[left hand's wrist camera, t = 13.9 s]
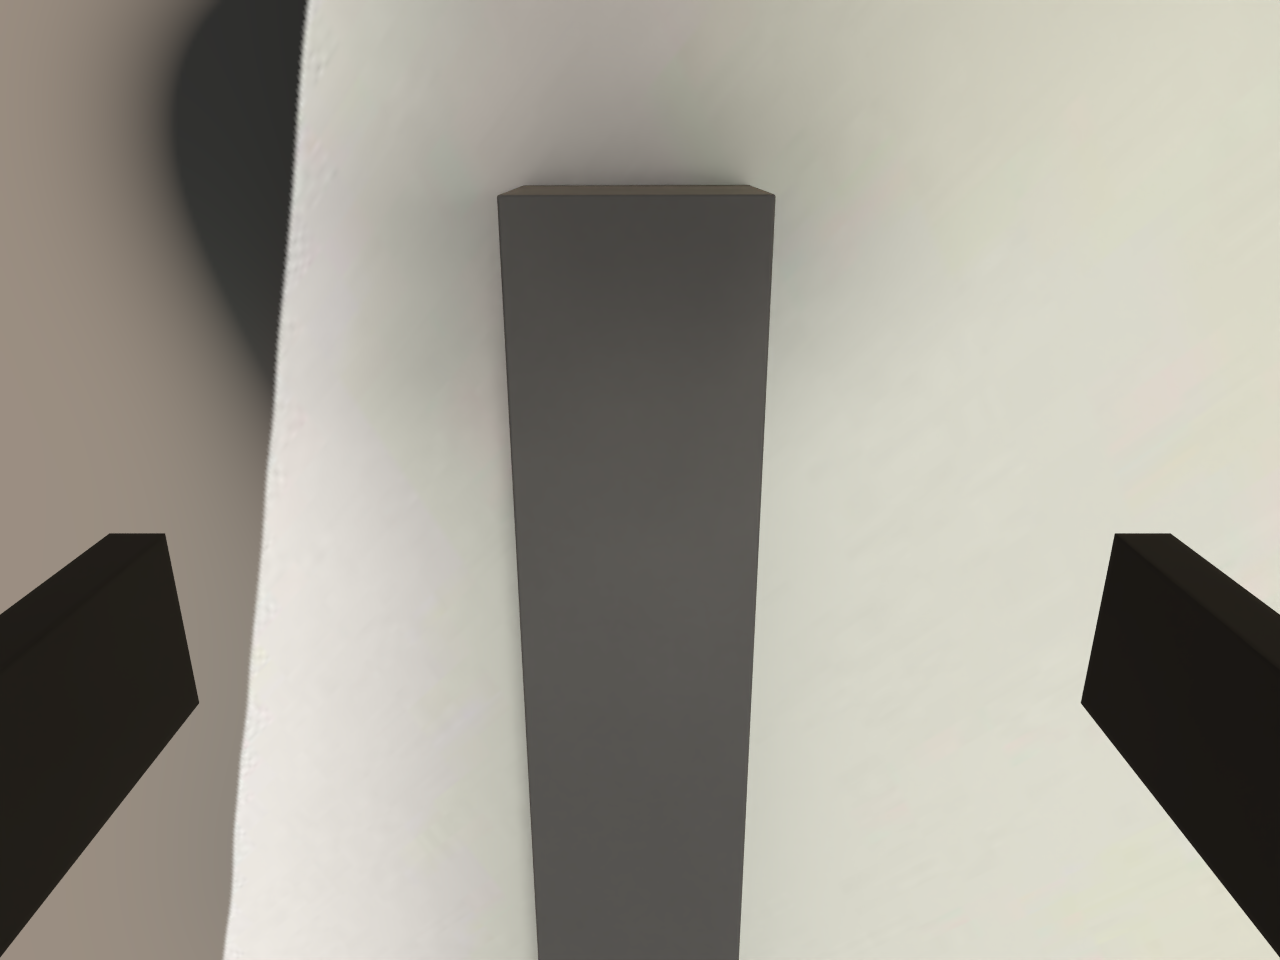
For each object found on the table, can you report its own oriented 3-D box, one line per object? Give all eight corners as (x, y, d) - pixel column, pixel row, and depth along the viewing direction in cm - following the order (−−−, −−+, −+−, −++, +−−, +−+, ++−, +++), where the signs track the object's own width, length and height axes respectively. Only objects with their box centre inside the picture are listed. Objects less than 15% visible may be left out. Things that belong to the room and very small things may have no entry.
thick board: (521, 185, 39) (496, 194, 32) (750, 184, 39) (775, 194, 32) (568, 1233, 63) (560, 1369, 56) (710, 1232, 63) (719, 1368, 56)
